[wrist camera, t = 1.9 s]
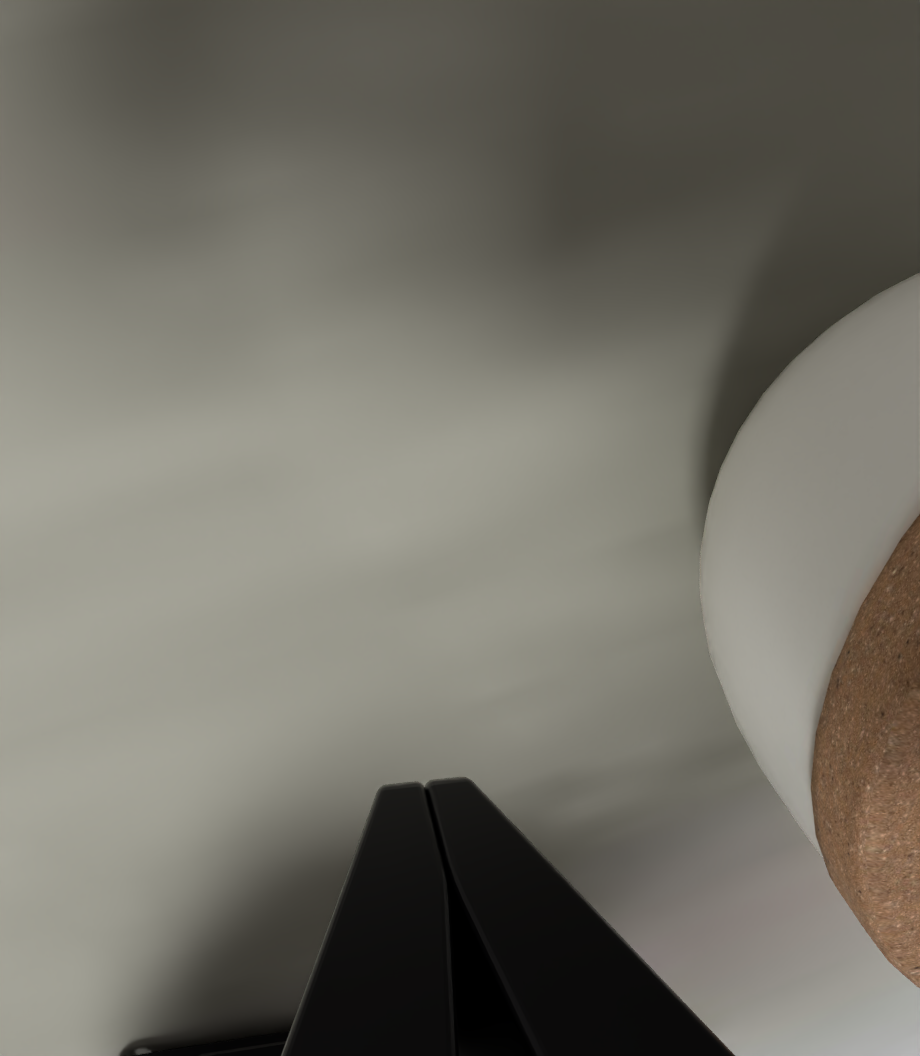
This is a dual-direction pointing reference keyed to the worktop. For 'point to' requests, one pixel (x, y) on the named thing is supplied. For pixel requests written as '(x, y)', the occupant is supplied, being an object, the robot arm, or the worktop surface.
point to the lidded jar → (832, 604)
